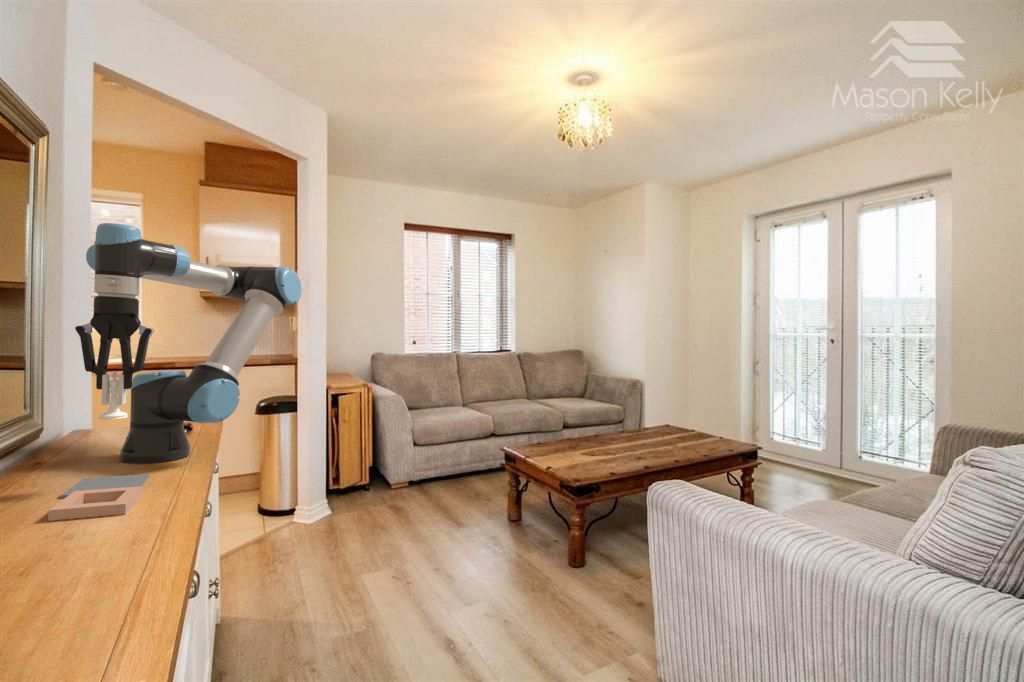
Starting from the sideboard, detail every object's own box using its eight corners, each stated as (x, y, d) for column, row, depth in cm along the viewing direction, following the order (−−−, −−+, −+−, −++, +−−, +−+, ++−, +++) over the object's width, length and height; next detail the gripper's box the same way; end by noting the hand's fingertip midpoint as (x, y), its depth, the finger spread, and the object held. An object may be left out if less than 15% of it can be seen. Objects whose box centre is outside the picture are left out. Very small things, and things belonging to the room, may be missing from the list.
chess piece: (111, 420, 100) (112, 373, 100) (92, 418, 101) (93, 372, 101) (133, 416, 105) (135, 371, 105) (115, 414, 106) (116, 370, 106)
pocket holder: (74, 501, 94) (74, 491, 94) (142, 495, 99) (142, 486, 99) (48, 521, 84) (48, 510, 84) (125, 514, 89) (125, 503, 89)
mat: (83, 481, 106) (83, 478, 106) (149, 476, 111) (149, 474, 111) (59, 498, 95) (60, 495, 95) (134, 492, 100) (134, 490, 100)
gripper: (64, 292, 96) (61, 408, 96) (155, 298, 103) (152, 405, 103) (78, 294, 103) (75, 402, 103) (163, 299, 109) (160, 400, 110)
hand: (113, 403), depth 103 cm, fingers closed on chess piece, 2 cm apart
